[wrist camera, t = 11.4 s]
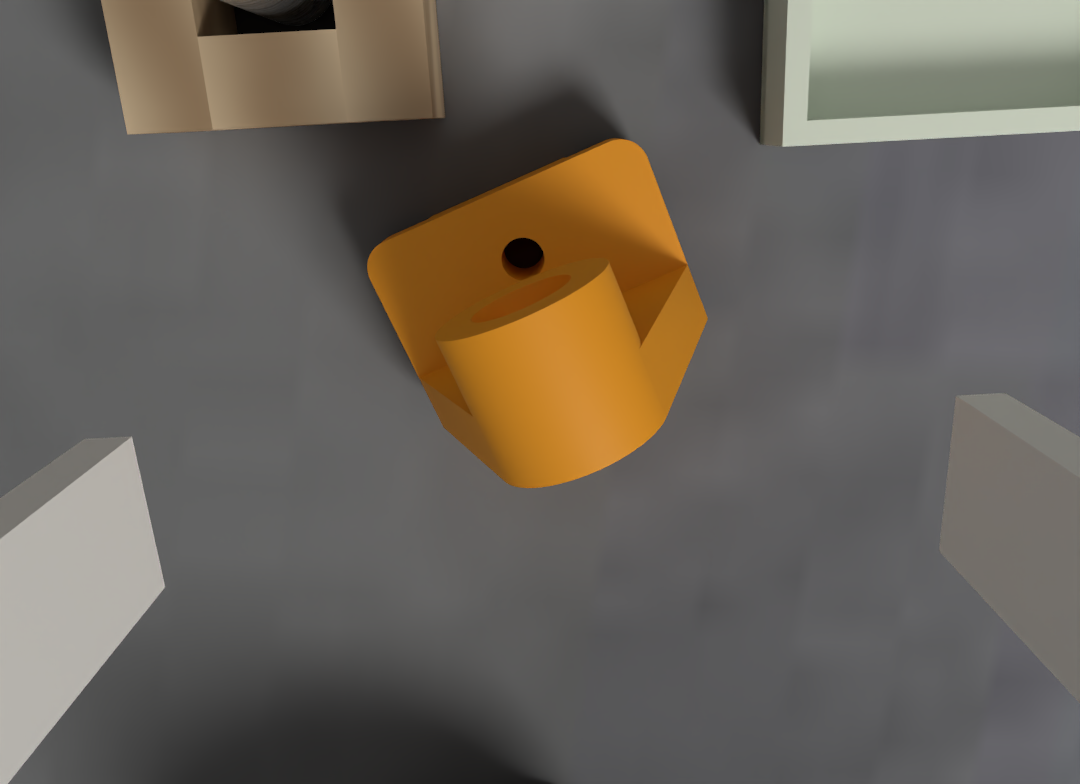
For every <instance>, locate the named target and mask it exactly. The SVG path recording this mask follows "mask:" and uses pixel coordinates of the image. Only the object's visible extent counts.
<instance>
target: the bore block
mask: <svg viewBox="0 0 1080 784" xmlns="http://www.w3.org/2000/svg"><path fill="white" fill-rule="evenodd" d="M101 3H102V8H103V13H104V18H105V23H106V28H107V33H108V38H109V43H110V48H111V53H112V59H113V64H114V69H115V74H116V79H117V84H118V89H119V94H120V99H121V104H122V109H123V114H124V119H125V124H126V129H127V134H151V133H178V132H196V131H215V130H233V129H251V128H269V127H287V126H306V125H324V124H342V123H360V122H379V121H397V120H415V119H433V118H445V107H444V95H443V83H442V71H441V59H440V47H439V35H438V23H437V11H436V0H333V7H334V16H335V24H336V29H327V30H310V31H292V32H274V33H256V34H238V31H237V25H236V18H235V11H234V6H233V5H231V4H228V3H226V2H223V1H220V0H101Z"/></svg>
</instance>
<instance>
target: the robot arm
mask: <svg viewBox="0 0 1080 784" xmlns="http://www.w3.org/2000/svg"><path fill="white" fill-rule="evenodd" d="M939 551H940V553H941V554H942V555H943V556H944V557H945V558H946V559H947V560H948V561H949V562H950V563H951V564H952V565H953V567H954V568H955V569H956V570H957V571H958V572H959V573H960V574H961V575H962V576H963V577H964V578H965V580H966V581H967V582H968V583H969V584H970V585H971V586H972V587H973V588H974V589H975V590H976V591H977V593H978V594H979V595H980V596H981V597H982V598H983V599H984V600H985V601H986V602H987V603H988V604H989V606H990V607H991V608H992V609H993V610H994V611H995V612H996V613H997V614H998V615H999V616H1000V617H1001V618H1002V620H1003V621H1004V622H1005V623H1006V624H1007V625H1008V626H1009V627H1010V628H1011V629H1012V630H1013V631H1014V633H1015V634H1016V635H1017V636H1018V637H1019V638H1020V639H1021V640H1022V641H1023V642H1024V643H1025V644H1026V646H1027V647H1028V648H1029V649H1030V650H1031V651H1032V652H1033V653H1034V654H1035V655H1036V656H1037V657H1038V659H1039V660H1040V661H1041V662H1042V663H1043V664H1044V665H1045V666H1046V667H1047V668H1048V669H1049V670H1050V671H1051V673H1052V674H1053V675H1054V676H1055V677H1056V678H1057V679H1058V680H1059V681H1060V682H1061V683H1062V684H1063V686H1064V687H1065V688H1066V689H1067V690H1068V691H1069V692H1070V693H1071V694H1072V695H1073V696H1074V697H1075V699H1076V700H1077V701H1078V702H1079V703H1080V437H1079V436H1077V435H1075V434H1073V433H1072V432H1070V431H1068V430H1067V429H1065V428H1063V427H1062V426H1060V425H1058V424H1057V423H1055V422H1053V421H1051V420H1050V419H1048V418H1046V417H1045V416H1043V415H1041V414H1040V413H1038V412H1036V411H1034V410H1033V409H1031V408H1029V407H1028V406H1026V405H1024V404H1023V403H1021V402H1019V401H1017V400H1016V399H1014V398H1012V397H1011V396H1009V395H1007V394H1006V393H999V394H979V395H959V396H956V402H955V411H954V420H953V429H952V438H951V447H950V456H949V465H948V475H947V484H946V493H945V502H944V511H943V520H942V529H941V539H940V548H939ZM164 588H165V585H164V580H163V575H162V571H161V566H160V562H159V557H158V553H157V548H156V544H155V539H154V535H153V530H152V526H151V521H150V517H149V512H148V508H147V503H146V499H145V494H144V490H143V485H142V481H141V476H140V472H139V467H138V462H137V458H136V453H135V449H134V444H133V440H132V437H114V438H94V439H84V440H82V441H81V442H79V443H78V444H77V445H75V446H74V447H72V448H71V449H69V450H68V451H67V452H65V453H64V454H62V455H61V456H60V457H58V458H57V459H55V460H54V461H52V462H51V463H50V464H48V465H47V466H45V467H44V468H42V469H41V470H40V471H38V472H37V473H35V474H34V475H32V476H31V477H30V478H28V479H27V480H25V481H24V482H23V483H21V484H20V485H18V486H17V487H15V488H14V489H13V490H11V491H10V492H8V493H7V494H5V495H4V496H3V497H1V498H0V784H8V783H9V781H10V780H11V779H12V778H13V776H14V775H15V774H16V773H17V771H18V770H19V769H20V768H21V766H22V765H23V764H24V763H25V761H26V760H27V759H28V758H29V756H30V755H31V754H32V753H33V751H34V750H35V749H36V748H37V746H38V745H39V744H40V743H41V741H42V740H43V739H44V738H45V736H46V735H47V734H48V733H49V732H50V730H51V729H52V728H53V727H54V725H55V724H56V723H57V722H58V720H59V719H60V718H61V717H62V715H63V714H64V713H65V712H66V710H67V709H68V708H69V707H70V705H71V704H72V703H73V702H74V700H75V699H76V698H77V697H78V695H79V694H80V693H81V692H82V690H83V689H84V688H85V687H86V685H87V684H88V683H89V682H90V680H91V679H92V678H93V677H94V675H95V674H96V673H97V672H98V670H99V669H100V668H101V667H102V665H103V664H104V663H105V662H106V660H107V659H108V658H109V657H110V655H111V654H112V653H113V652H114V650H115V649H116V648H117V647H118V645H119V644H120V643H121V642H122V640H123V639H124V638H125V637H126V635H127V634H128V633H129V632H130V630H131V629H132V628H133V627H134V625H135V624H136V623H137V622H138V620H139V619H140V618H141V617H142V615H143V614H144V613H145V612H146V610H147V609H148V608H149V607H150V605H151V604H152V603H153V602H154V600H155V599H156V598H157V597H158V595H159V594H160V593H161V592H162V590H163V589H164Z"/></svg>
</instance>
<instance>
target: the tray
mask: <svg viewBox="0 0 1080 784" xmlns="http://www.w3.org/2000/svg"><path fill="white" fill-rule="evenodd" d="M1062 131H1080V0H764V17H763V51H762V85H761V119H760V144H763V145H772V146H781V147H786V146H804V145H822V144H841V143H859V142H878V141H896V140H915V139H933V138H951V137H970V136H988V135H1007V134H1025V133H1043V132H1062Z"/></svg>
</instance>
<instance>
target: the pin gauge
mask: <svg viewBox="0 0 1080 784" xmlns="http://www.w3.org/2000/svg"><path fill="white" fill-rule="evenodd" d="M220 1H223V2H226V3H228V4H231V5H233V6H236V7H239V8H241V9H244V10H247V11H249V12H252V13H254V14H257V15H260V16H262V17H265V18H268V19H270V20H273V21H276V22H278V23H281V24H284V25H290V26H299V25H305V24H308V23H311V22H313V21H315V20H316V19H318V18H319V17H320V16H321V15H323V14H324V12H325V11H326V10H327V9H328V7H329V6H330V4H331V2H332V0H220Z"/></svg>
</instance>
